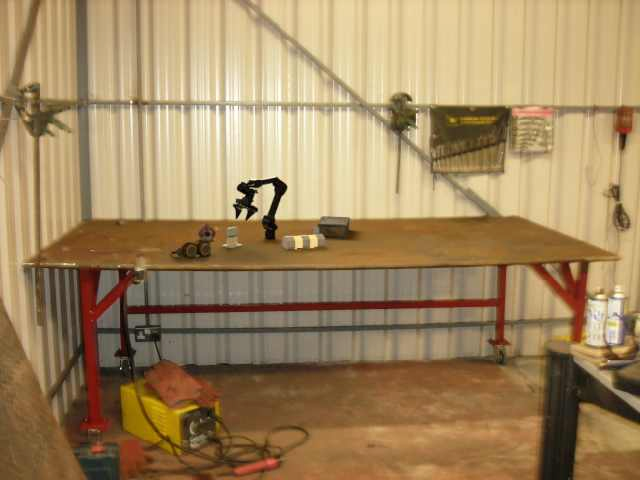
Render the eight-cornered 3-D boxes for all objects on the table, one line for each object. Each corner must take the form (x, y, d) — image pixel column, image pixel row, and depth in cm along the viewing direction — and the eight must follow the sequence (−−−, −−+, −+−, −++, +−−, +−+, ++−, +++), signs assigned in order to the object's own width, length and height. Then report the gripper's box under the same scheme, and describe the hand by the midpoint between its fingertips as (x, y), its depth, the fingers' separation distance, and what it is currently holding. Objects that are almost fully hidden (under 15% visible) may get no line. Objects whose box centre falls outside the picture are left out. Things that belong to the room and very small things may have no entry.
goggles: (197, 248, 410) (196, 232, 407) (222, 254, 395) (222, 238, 393) (165, 255, 391) (164, 239, 389) (191, 262, 377) (190, 245, 374)
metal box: (350, 230, 479) (350, 216, 477) (347, 238, 447) (347, 224, 445) (321, 229, 481) (321, 216, 479) (316, 237, 449) (316, 223, 448)
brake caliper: (199, 238, 427) (198, 222, 432) (198, 246, 436) (197, 230, 441) (216, 238, 430) (215, 222, 435) (215, 245, 439) (214, 229, 444)
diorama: (318, 244, 426) (319, 224, 424) (325, 247, 417) (325, 227, 414) (282, 247, 417) (282, 227, 414) (287, 250, 407) (287, 229, 405)
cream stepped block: (233, 244, 423) (233, 234, 422) (242, 245, 418) (242, 235, 417) (222, 246, 415) (221, 236, 414) (230, 248, 410) (230, 238, 409)
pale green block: (234, 234, 419) (234, 226, 418) (237, 235, 417) (237, 227, 416) (226, 236, 413) (226, 228, 412) (229, 236, 412) (229, 228, 411)
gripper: (230, 191, 424) (222, 213, 421) (250, 193, 412) (242, 216, 409) (242, 197, 432) (234, 219, 430) (262, 200, 420) (254, 223, 418)
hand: (240, 219), depth 421 cm, fingers open, 9 cm apart
